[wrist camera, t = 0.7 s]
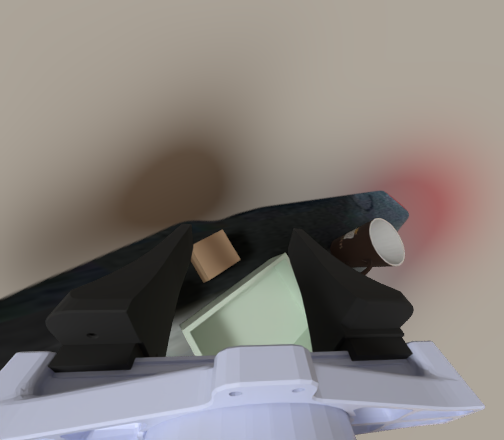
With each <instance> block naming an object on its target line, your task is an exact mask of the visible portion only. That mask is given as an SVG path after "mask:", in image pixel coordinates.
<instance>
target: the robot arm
mask: <svg viewBox="0 0 504 440" xmlns="http://www.w3.org/2000/svg"><path fill="white" fill-rule="evenodd" d="M192 252H193V237H192V227H191V224H181V225H180V226H179V227H178V228H177V229H176V230H175V231H174V232H172V233H171V234H170V235H169V236H168V237H167V238H166V239H165V240H163V241H162V242H161V243H160V244H158V245H157V246H156V247H155V248H153V249H152V250H151V251H149V252H148V253H146V254H145V255H143V256H142V257H140V258H139V259H137V260H135V261H134V262H132V263H130V264H128V265H127V266H125V267H123V268H121V269H119V270H117V271H115V272H113V273H111V274H109V275H107V276H105V277H103V278H100V279H98V280H96V281H93V282H91V283H88V284H86V285H83V286H81V287H78V288H76V289H73V290H71V291H70V292H69V293H68V294H67V296H66V297H65V298H64V299H63V300H62V301H61V302H60V303H59V305H58V306H57V307H56V308H55V309H54V310H53V311H52V313H51V314H50V315H49V316H48V317H47V319H46V326H47V328H48V330H49V331H50V332H51V333H52V334H53V335H54V336H55V337H56V338H57V339H58V340H59V342H60V343H61V344H62V345H63V346H62V347H61V348H60V350H59V351H58V353H57V354H56V353H54V352H49V351H36V352H18V353H16V354H15V355H14V356H13V357H12V359H11V360H10V361H9V362H8V363H7V364H6V365H5V367H4V368H3V369H2V370H1V371H0V440H356V437H355V435H357V434H364V433H371V432H379V431H385V430H392V429H400V428H407V427H414V426H424V425H434V424H444V423H447V422H450V421H453V420H456V419H458V418H461V417H464V416H466V415H469V414H472V413H475V412H477V411H480V410H483V409H485V406H484V404H483V403H482V402H481V401H480V399H479V398H478V397H477V396H476V394H475V393H474V392H473V391H472V389H471V388H470V387H469V386H468V385H467V383H466V382H465V381H464V380H463V379H462V377H461V376H460V375H459V374H458V372H457V371H456V370H455V369H454V368H453V366H452V365H451V364H450V363H449V361H448V360H447V359H446V357H445V356H444V355H443V354H442V353H441V351H440V350H439V349H438V348H437V346H436V345H435V344H434V343H433V342H432V341H412V342H408V343H405V341H404V340H403V338H402V337H403V336H404V333H403V331H402V330H401V329H400V327H401V326H402V325H403V324H404V323H405V322H406V321H407V320H408V319H409V318H410V317H411V315H412V313H413V306H412V305H411V303H410V302H409V301H408V300H407V299H406V297H405V296H404V295H403V294H402V293H401V292H400V291H398V290H395V289H393V288H391V287H388V286H386V285H384V284H381V283H379V282H377V281H375V280H373V279H371V278H368V277H367V276H365V275H363V274H361V273H359V272H358V271H356V270H354V269H352V268H351V267H349V266H347V265H346V264H344V263H343V262H341V261H340V260H338V259H337V258H336V257H334V256H333V255H332V254H330V253H329V252H328V251H326V250H325V249H324V248H323V247H322V246H320V245H319V244H318V243H317V242H316V241H315V240H314V239H312V238H311V237H310V236H309V235H308V234H307V233H306V232H305V231H303V230H302V229H293V232H292V236H291V239H290V243H289V247H288V255H289V260H290V263H291V266H292V269H293V272H294V275H295V278H296V281H297V284H298V286H299V289H300V293H301V296H302V300H303V305H304V309H305V314H306V319H307V323H308V329H309V334H310V340H311V346H312V352H310V351H309V350H308V349H306V348H305V347H303V346H302V345H295V344H274V345H239V346H232V347H227V348H225V349H223V350H221V351H220V352H219V353H218V354H217V355H208V356H177V357H166V351H167V346H168V341H169V336H170V331H171V326H172V322H173V317H174V313H175V309H176V304H177V300H178V296H179V293H180V289H181V286H182V284H183V281H184V278H185V275H186V272H187V270H188V267H189V264H190V261H191V257H192Z"/></svg>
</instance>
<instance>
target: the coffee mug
mask: <svg viewBox="0 0 504 440" xmlns="http://www.w3.org/2000/svg"><path fill="white" fill-rule="evenodd" d="M330 250H331V254H332V255H333V256H334V257H336V258H337V259H338V260H340V261H341V262H343V263H344V264H346V265H347V266H349V267H367V268H366V269H365V270H364V271H362V272H361V274H363V275H365V274H367V273H368V272H369V271H370V270H371V268H372V267H383V266H384V267H385V266H399V265H401V264H402V263H403V261H404V258H405V251H404V246H403V242H402V240H401V238H400V236H399V234H398V233H397V231H396V230H395V228H394V227H393V226H392V225H391V224H390V223H388V222H387V221H385V220H384V219H381V218H376V219H374V220H372V221H370V222H368V223H366V224H364V225H362V226H360V227H358V228H356V229H354V230H352V231H351V232H349V233H347V234H345V235H343V236H341V237H339V238H337V239H335V240H334V241H333V242H332V243H331V247H330Z"/></svg>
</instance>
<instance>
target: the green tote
mask: <svg viewBox="0 0 504 440" xmlns="http://www.w3.org/2000/svg"><path fill="white" fill-rule="evenodd" d="M180 327H181V330H182V332H183V334H184V336H185V338H186V339H187V341H188V343H189V345H190V347H191V349H192V351H193V353H194V354H195V356H208V355H217V354H218V353H219V352H220V351H221V350H223V349H225V348H227V347H232V346H239V345H274V344H295V345H302V346H303V347H305V348H306V349H308V350H309V351H310V352H312V346H311V340H310V334H309V329H308V323H307V319H306V314H305V309H304V305H303V300H302V296H301V293H300V289H299V286H298V284H297V281H296V278H295V275H294V272H293V269H292V266H291V263H290V260H289V257H288V256H287V254H286V253H284V254H281V255H279V256H276V257H273V258H271V259H269V260H268V261H267V262H265V263H264V264H262V265H261V266H260V267H258V268H257V269H256V270H254V271H253V272H252V273H250V274H249V275H247V276H246V277H245V278H243V279H242V280H241V281H239V282H238V283H237V284H235V285H234V286H232V287H231V288H230V289H228V290H227V291H226V292H224V293H223V294H221V295H220V296H219V297H217V298H216V299H215V300H213V301H212V302H211V303H209V304H208V305H206V306H205V307H204V308H202V309H201V310H200V311H198V312H197V313H195V314H194V315H193V316H191V317H190V318H189V319H187V320H186V321H185V322H183V323H182V324H180Z"/></svg>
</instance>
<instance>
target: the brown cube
mask: <svg viewBox="0 0 504 440" xmlns="http://www.w3.org/2000/svg"><path fill="white" fill-rule="evenodd" d="M239 260H241V259H240V258H239V256H238V254H237V253H236V251H235V249H234V248H233V246H232V244H231V243H230V241H229V240H228V238H227V236H226V235H225V233H224V231H223V230H221V231H219V232H217V233H215V234H213V235H211V236H209V237H207V238H205V239H203V240H201V241H199V242H197V243H196V244H194V245H193V252H192V257H191V262H192V263H193V265H194V267H195V269H196V270H197V272H198V274H199V276H200V277H201V279H202V281H203V283H204V282H206V281H209V280H210V279H212V278H214V277H215V276H217V275H218V274H220V273H221V272H223V271H224V270H226V269H227V268H229V267H230V266H232V265H233V264H235V263H236V262H238V261H239Z"/></svg>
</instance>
